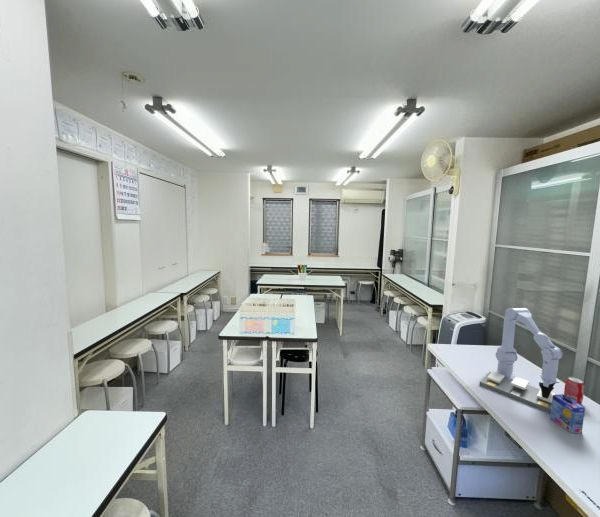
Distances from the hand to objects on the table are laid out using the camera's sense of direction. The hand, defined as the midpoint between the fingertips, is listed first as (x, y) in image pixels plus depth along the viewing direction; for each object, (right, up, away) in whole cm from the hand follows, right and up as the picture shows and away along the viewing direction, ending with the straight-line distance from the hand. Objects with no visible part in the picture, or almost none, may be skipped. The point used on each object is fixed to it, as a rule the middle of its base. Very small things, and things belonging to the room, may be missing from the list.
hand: (546, 394), depth 141 cm
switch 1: (-14, +1, +17) cm, 22 cm away
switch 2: (-7, +2, +8) cm, 11 cm away
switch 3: (0, -1, 0) cm, 1 cm away
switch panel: (-8, -3, +8) cm, 12 cm away
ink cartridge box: (-7, -6, -17) cm, 19 cm away
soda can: (+15, -4, +1) cm, 16 cm away
